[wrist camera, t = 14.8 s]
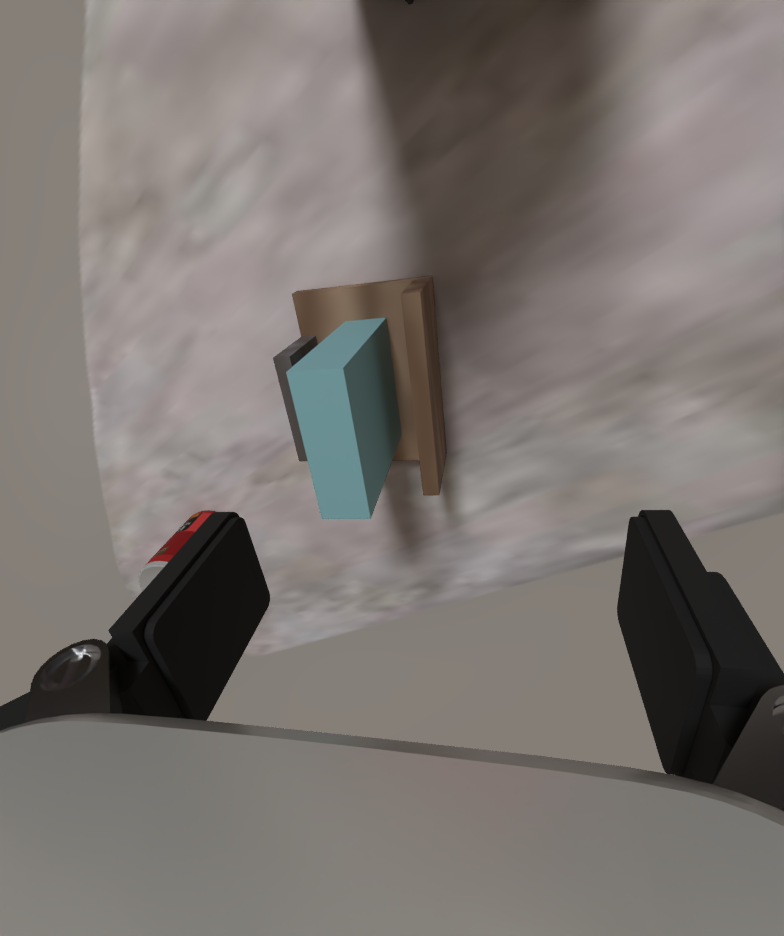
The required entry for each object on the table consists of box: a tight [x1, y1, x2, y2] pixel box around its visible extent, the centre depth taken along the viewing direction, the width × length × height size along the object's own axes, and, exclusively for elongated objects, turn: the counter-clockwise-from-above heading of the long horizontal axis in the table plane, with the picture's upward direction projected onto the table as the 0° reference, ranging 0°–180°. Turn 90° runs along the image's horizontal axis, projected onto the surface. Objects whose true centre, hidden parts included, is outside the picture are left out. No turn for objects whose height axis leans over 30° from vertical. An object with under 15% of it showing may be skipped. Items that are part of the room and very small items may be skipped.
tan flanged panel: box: [273, 276, 447, 495], centre depth 44 cm, size 13×18×8 cm
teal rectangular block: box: [286, 318, 402, 519], centre depth 40 cm, size 4×12×15 cm, turn 7°
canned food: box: [139, 511, 215, 591], centre depth 58 cm, size 8×8×11 cm
